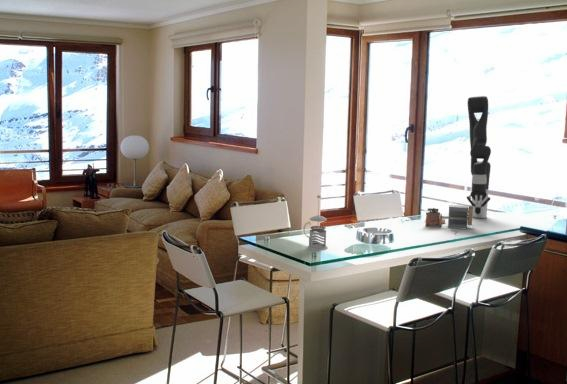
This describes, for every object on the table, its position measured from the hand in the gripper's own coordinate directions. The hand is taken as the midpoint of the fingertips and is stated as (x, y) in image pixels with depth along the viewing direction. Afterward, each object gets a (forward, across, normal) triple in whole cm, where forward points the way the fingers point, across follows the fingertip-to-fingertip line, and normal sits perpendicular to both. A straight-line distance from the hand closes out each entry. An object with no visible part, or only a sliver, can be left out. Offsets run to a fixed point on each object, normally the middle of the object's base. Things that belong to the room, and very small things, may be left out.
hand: (477, 213), depth 363 cm
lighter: (+8, +24, +1) cm, 25 cm away
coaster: (+8, +22, -11) cm, 26 cm away
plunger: (+7, +11, 0) cm, 14 cm away
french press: (+7, +76, +72) cm, 105 cm away
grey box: (+8, +10, 0) cm, 13 cm away
